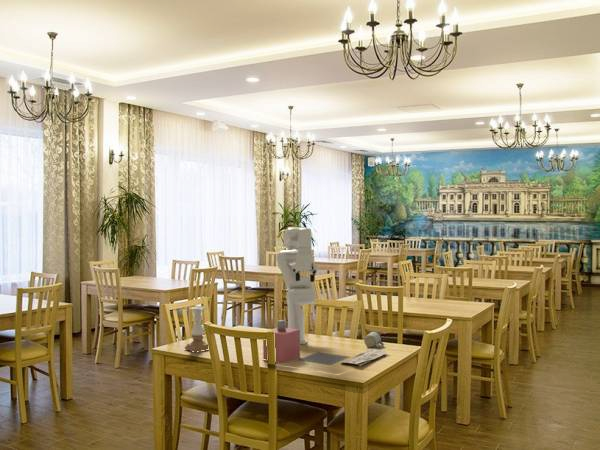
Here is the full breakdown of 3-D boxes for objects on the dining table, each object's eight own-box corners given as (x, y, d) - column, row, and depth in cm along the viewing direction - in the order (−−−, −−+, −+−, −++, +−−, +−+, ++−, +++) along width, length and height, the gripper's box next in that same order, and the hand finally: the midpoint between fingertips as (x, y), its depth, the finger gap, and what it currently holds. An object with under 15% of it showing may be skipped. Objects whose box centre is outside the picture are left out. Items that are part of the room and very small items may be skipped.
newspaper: (367, 352, 321) (367, 346, 321) (389, 355, 315) (389, 348, 315) (339, 367, 290) (339, 360, 290) (362, 370, 284) (362, 362, 284)
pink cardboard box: (263, 360, 304) (262, 321, 304) (279, 355, 316) (279, 317, 315) (284, 363, 296) (283, 324, 296) (300, 358, 308) (299, 319, 308)
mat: (297, 361, 302) (297, 359, 302) (318, 353, 318) (318, 352, 318) (330, 366, 290) (330, 364, 290) (350, 358, 307) (350, 356, 307)
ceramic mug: (363, 347, 332) (363, 333, 332) (368, 344, 340) (368, 331, 340) (381, 349, 328) (381, 335, 328) (386, 346, 335) (386, 332, 335)
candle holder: (194, 353, 322) (194, 309, 322) (184, 349, 330) (183, 307, 330) (211, 350, 329) (211, 307, 329) (201, 347, 338) (200, 305, 337)
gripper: (288, 250, 327) (288, 281, 328) (314, 251, 318) (314, 282, 318) (295, 249, 334) (296, 279, 334) (321, 250, 324) (321, 281, 324)
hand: (305, 281), depth 326 cm, fingers open, 9 cm apart
